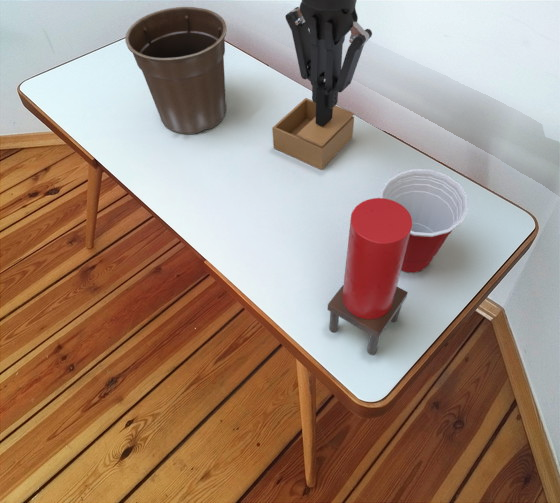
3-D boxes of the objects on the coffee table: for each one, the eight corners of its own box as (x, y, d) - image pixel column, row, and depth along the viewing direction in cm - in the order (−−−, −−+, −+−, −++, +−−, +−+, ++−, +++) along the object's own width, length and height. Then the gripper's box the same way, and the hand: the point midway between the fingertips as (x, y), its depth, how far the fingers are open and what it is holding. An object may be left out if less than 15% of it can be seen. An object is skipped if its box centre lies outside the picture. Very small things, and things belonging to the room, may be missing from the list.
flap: (354, 114, 86) (354, 112, 85) (322, 146, 81) (322, 144, 81) (329, 105, 87) (329, 103, 87) (297, 135, 83) (297, 133, 82)
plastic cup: (353, 260, 73) (361, 201, 63) (398, 217, 78) (411, 156, 68) (419, 303, 68) (438, 246, 59) (462, 255, 73) (486, 195, 63)
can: (401, 292, 62) (423, 213, 51) (377, 328, 59) (394, 252, 48) (358, 269, 64) (370, 189, 53) (332, 303, 61) (339, 225, 51)
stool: (400, 317, 67) (408, 292, 62) (373, 358, 63) (379, 334, 59) (354, 292, 70) (357, 265, 65) (325, 329, 66) (327, 304, 61)
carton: (352, 137, 89) (354, 116, 86) (321, 170, 85) (322, 149, 81) (305, 118, 93) (305, 97, 90) (273, 148, 88) (272, 127, 85)
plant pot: (136, 139, 91) (109, 55, 79) (163, 86, 101) (143, 4, 88) (225, 146, 89) (213, 61, 77) (244, 91, 99) (235, 8, 86)
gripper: (390, -32, 65) (370, 122, 83) (304, -54, 70) (303, 96, 88) (359, -8, 61) (346, 148, 79) (271, -33, 66) (278, 119, 85)
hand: (323, 120), depth 84 cm, fingers closed
